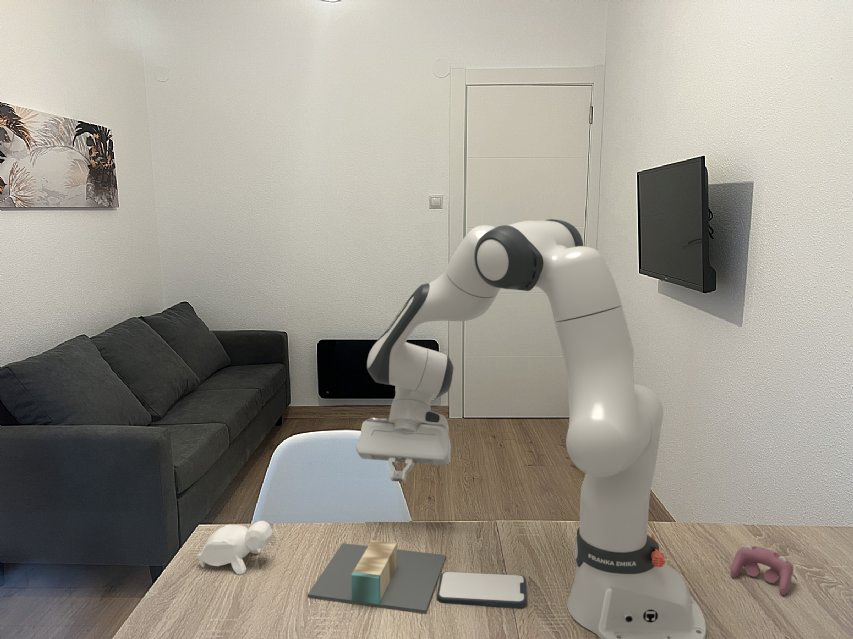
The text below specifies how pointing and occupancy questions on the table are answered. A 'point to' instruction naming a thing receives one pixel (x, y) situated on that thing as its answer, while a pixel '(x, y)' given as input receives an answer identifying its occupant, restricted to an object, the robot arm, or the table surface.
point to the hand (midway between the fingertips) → (397, 480)
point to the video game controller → (755, 555)
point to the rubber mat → (404, 589)
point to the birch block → (374, 572)
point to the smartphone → (482, 589)
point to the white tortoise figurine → (235, 545)
